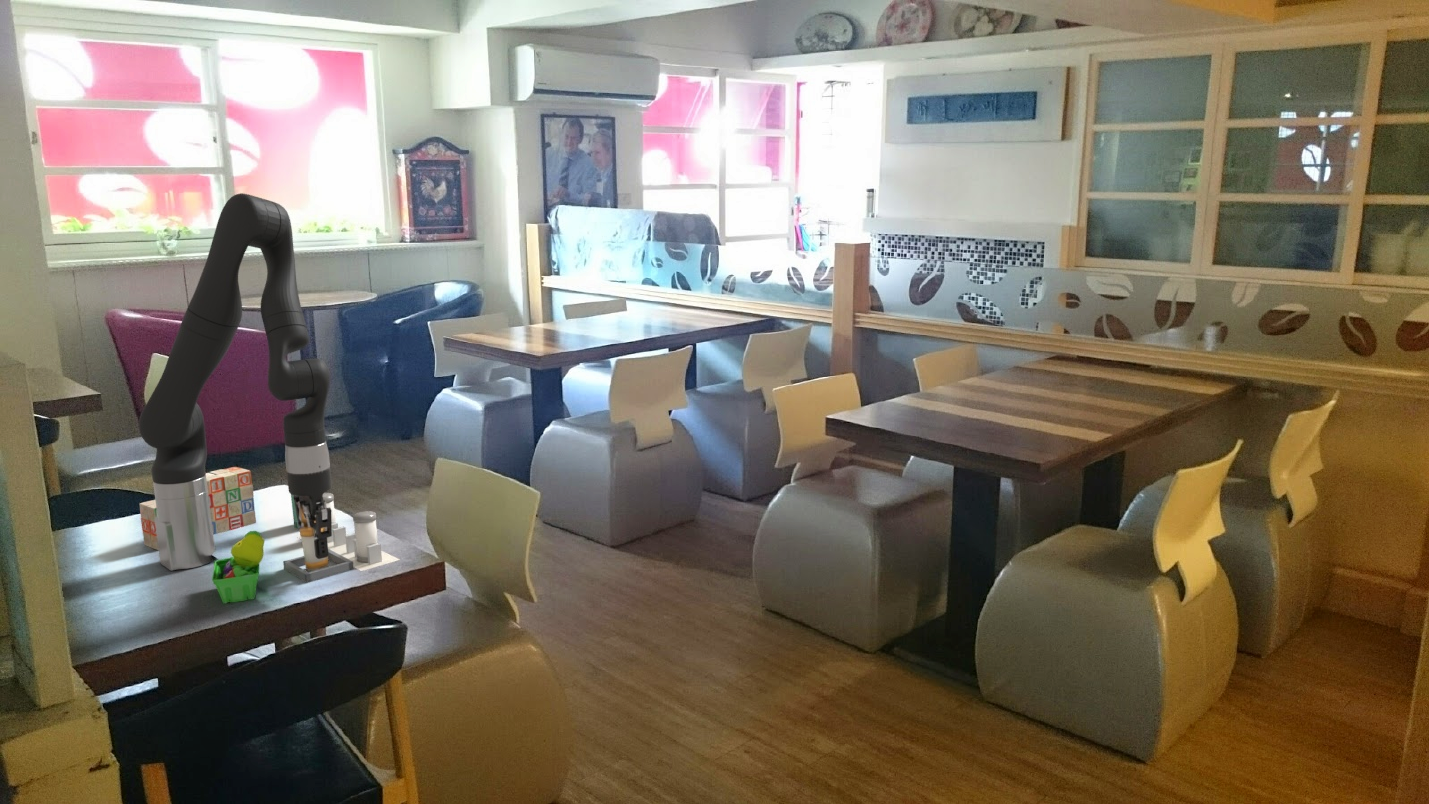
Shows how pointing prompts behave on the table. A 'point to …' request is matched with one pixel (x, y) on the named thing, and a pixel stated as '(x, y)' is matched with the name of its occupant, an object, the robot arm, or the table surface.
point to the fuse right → (364, 533)
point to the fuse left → (330, 504)
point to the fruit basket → (240, 569)
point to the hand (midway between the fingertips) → (317, 553)
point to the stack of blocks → (214, 504)
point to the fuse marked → (311, 551)
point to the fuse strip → (347, 549)
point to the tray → (341, 567)
